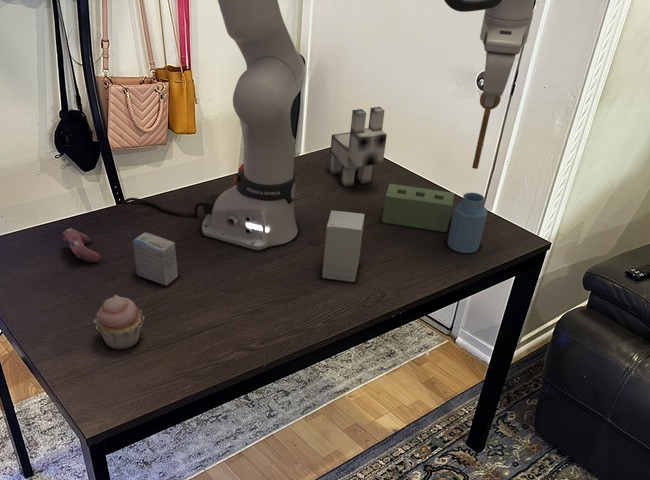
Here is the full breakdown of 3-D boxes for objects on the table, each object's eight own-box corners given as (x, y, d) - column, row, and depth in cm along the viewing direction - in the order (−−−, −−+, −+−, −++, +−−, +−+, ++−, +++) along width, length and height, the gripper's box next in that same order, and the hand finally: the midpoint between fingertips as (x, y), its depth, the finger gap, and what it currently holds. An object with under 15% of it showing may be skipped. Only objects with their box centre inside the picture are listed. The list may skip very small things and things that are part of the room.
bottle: (446, 250, 161) (456, 202, 154) (448, 234, 167) (458, 187, 159) (477, 255, 160) (489, 207, 152) (479, 239, 165) (491, 192, 157)
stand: (381, 222, 170) (385, 195, 166) (385, 209, 175) (389, 183, 171) (446, 232, 168) (452, 205, 163) (449, 219, 172) (454, 192, 168)
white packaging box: (355, 283, 150) (361, 230, 142) (321, 278, 151) (325, 225, 143) (359, 264, 156) (365, 213, 147) (326, 260, 157) (330, 208, 148)
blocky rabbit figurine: (349, 163, 195) (356, 89, 182) (379, 190, 183) (389, 114, 170) (325, 166, 193) (330, 92, 180) (353, 194, 181) (361, 117, 168)
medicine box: (178, 277, 150) (175, 241, 144) (165, 287, 147) (162, 251, 141) (149, 266, 153) (145, 231, 147) (136, 275, 150) (131, 240, 144)
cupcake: (146, 322, 138) (141, 279, 131) (147, 352, 131) (142, 309, 124) (97, 326, 136) (90, 282, 130) (96, 356, 129) (88, 312, 123)
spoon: (465, 167, 152) (482, 89, 141) (465, 165, 153) (482, 87, 142) (484, 170, 151) (502, 91, 141) (484, 167, 152) (502, 89, 141)
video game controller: (74, 250, 160) (55, 229, 154) (90, 239, 160) (72, 217, 154) (86, 272, 153) (67, 250, 148) (103, 260, 153) (84, 238, 148)
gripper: (490, 15, 142) (476, 85, 151) (485, 43, 127) (470, 119, 136) (522, 18, 141) (506, 88, 150) (521, 47, 126) (503, 123, 135)
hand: (488, 103), depth 143 cm, fingers closed on spoon, 1 cm apart
